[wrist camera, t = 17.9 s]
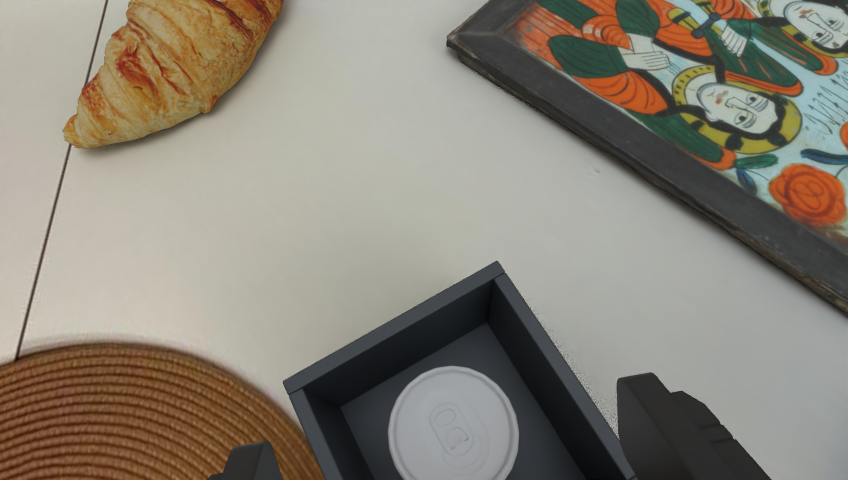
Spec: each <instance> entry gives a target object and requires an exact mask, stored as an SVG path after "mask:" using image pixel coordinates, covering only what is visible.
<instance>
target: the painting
mask: <svg viewBox="0 0 848 480" xmlns="http://www.w3.org/2000/svg"><path fill="white" fill-rule="evenodd" d="M446 45H447V47H450V48H452V49H454V50H455V51H457V53H458V57H459V59H460V60H461V61H462V62H463V63H465V64H466V65H468V66H469V67H471V68H472V69H474V70H476V71H477V72H479V73H480V74H482V75H483V76H485V77H487V78H488V79H490V80H491V81H492V82H494V83H495V84H497V85H499V86H500V87H502V88H504V89H506V90H507V91H509V92H511V93H512V94H514V95H516V96H518V97H519V98H521V99H522V100H524V101H526V102H527V103H529V104H531V105H532V106H534V107H536V108H537V109H539V110H540V111H542V112H543V113H545V114H546V115H548V116H549V117H551V118H553V119H554V120H556V121H558V122H559V123H561V124H562V125H564V126H565V127H567V128H569V129H570V130H572V131H573V132H575V133H576V134H578V135H579V136H581V137H582V138H584V139H585V140H587V141H589V142H590V143H592V144H594V145H596V146H598V147H600V148H601V149H603V150H605V151H607V152H609V153H611V154H612V155H614V156H616V157H617V158H619V159H620V160H622V161H623V162H625V163H626V164H628V165H629V166H631V167H632V168H633V169H634V170H635V171H637V172H638V173H639V174H641V175H643V176H645V177H646V178H647V180H649V181H650V182H651V183H653V184H655V185H656V186H658V187H660V188H662V189H664V190H666V191H667V192H669V193H671V194H673V195H674V196H676V197H678V198H679V199H681V200H682V201H684V202H685V203H687V204H688V205H690V206H691V207H693V208H694V209H696V210H697V211H699V212H701V213H703V214H704V215H706V216H707V217H709V218H710V219H712V220H713V221H714V222H716V223H717V224H718V225H720V226H721V227H723V228H724V229H726V230H727V231H729V232H730V233H732V234H733V235H735V236H736V237H738V238H739V239H740V240H742V241H743V242H744V243H746V244H747V245H748V246H750V247H752V248H753V249H755V250H756V251H757V252H759V253H760V254H762V255H763V256H764V257H766V258H767V259H769V260H770V261H772V262H773V263H775V264H776V265H777V266H779V267H780V268H782V269H783V270H785V271H786V272H787V273H789V274H790V275H792V276H793V277H794V278H796V279H798V280H799V281H801V282H803V283H804V284H806V285H807V286H808V287H810V288H811V289H812V290H814V291H815V292H816V293H818V294H819V295H821V296H822V297H824V298H825V299H826V300H827V301H829V302H831V303H832V304H834V305H836V306H837V307H838V308H840V309H841V310H843V311H844V312H846V313H848V0H489V1H488V2H487V3H486V4H485V5H484V6H483V7H481V8H480V9H479V10H478V11H477V12H475V13H474V14H473V15H472V16H470V17H469V18H468V19H467V20H466V21H465V22H463V23H462V24H461V25H460V26H459V27H457V28H456V29H455V30H453V31H452V32H451V33H450V34H449V35H447V43H446Z"/></svg>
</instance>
